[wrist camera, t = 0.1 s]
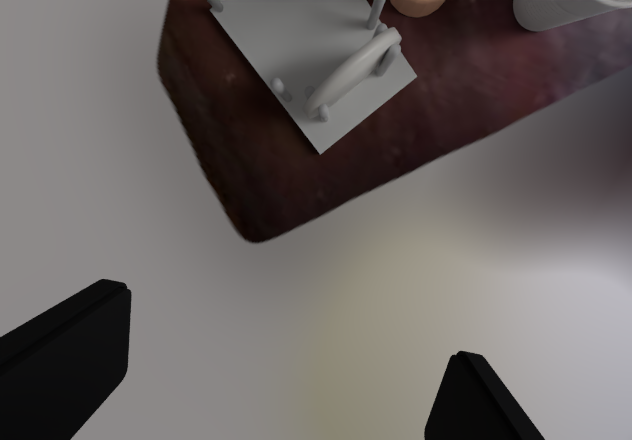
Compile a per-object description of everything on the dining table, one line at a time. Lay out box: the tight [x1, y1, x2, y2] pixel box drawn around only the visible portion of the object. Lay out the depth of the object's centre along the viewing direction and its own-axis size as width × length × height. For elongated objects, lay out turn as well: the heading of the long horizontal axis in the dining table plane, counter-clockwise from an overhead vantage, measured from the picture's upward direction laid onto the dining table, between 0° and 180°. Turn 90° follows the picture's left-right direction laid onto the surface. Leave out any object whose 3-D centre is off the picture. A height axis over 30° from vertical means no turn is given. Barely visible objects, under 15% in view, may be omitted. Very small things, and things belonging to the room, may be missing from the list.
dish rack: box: [207, 0, 417, 154], centre depth 29 cm, size 14×20×12 cm
